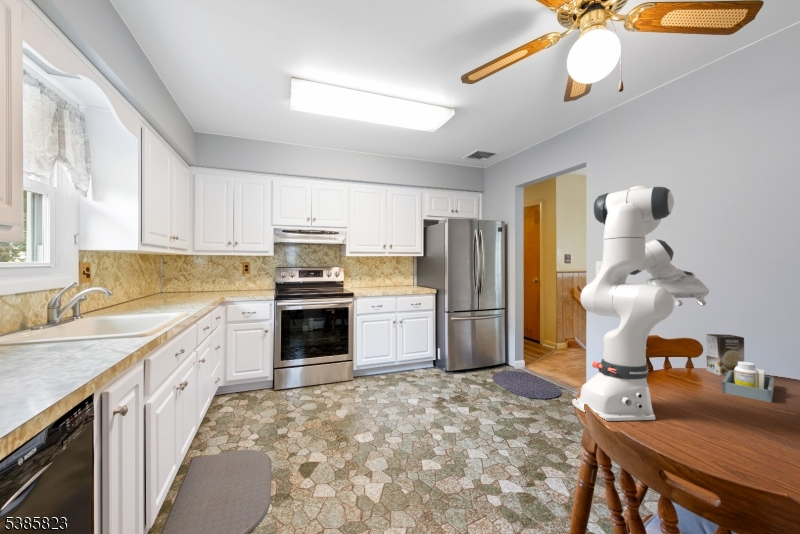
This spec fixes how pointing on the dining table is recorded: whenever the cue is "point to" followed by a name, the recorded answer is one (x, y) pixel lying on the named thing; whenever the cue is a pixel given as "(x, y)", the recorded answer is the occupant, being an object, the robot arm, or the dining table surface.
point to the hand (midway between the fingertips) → (691, 304)
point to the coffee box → (724, 353)
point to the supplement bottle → (746, 375)
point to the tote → (748, 388)
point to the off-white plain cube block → (761, 378)
